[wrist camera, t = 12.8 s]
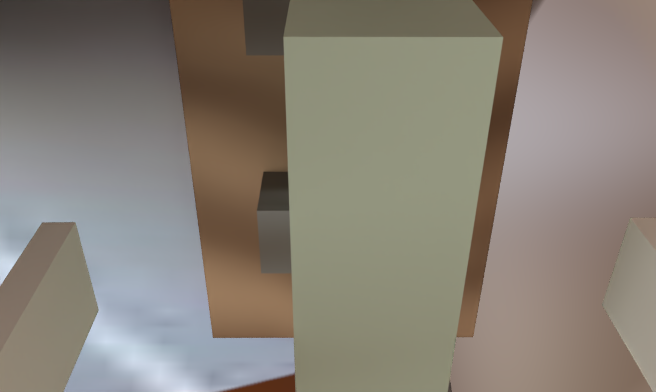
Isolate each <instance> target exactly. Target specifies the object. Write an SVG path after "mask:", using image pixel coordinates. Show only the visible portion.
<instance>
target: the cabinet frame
mask: <svg viewBox="0 0 656 392" xmlns="http://www.w3.org/2000/svg"><path fill="white" fill-rule="evenodd" d="M532 1H533V0H473V2H474V3H475V4H476V5H477V6H478V8H479V9H480V10H481V11H482V12H483V13H484V15H485V16H486V17H487V18H488V19H489V21H490V22H491V23H492V24H493V25H494V27H495V28H496V29H497V30H498V31H499V33H500V34H501V35H502V36H503V43H502V49H501V55H500V62H499V68H498V74H497V81H496V87H495V94H494V100H493V106H492V113H491V119H490V125H489V132H488V138H487V145H486V151H485V157H484V164H483V170H482V176H481V183H480V189H479V196H478V202H477V208H476V215H475V221H474V227H473V234H472V240H471V246H470V253H469V259H468V266H467V272H466V278H465V285H464V291H463V297H462V304H461V310H460V317H459V323H458V329H457V336H456V337H473V334H474V328H475V323H476V318H477V312H478V306H479V301H480V295H481V289H482V284H483V278H484V272H485V267H486V261H487V254H488V250H489V244H490V238H491V233H492V227H493V221H494V216H495V210H496V204H497V198H498V193H499V187H500V182H501V175H502V170H503V165H504V159H505V153H506V148H507V142H508V136H509V130H510V125H511V119H512V114H513V108H514V103H515V97H516V91H517V86H518V80H519V74H520V68H521V63H522V57H523V52H524V46H525V40H526V34H527V29H528V23H529V18H530V12H531V6H532ZM169 3H170V10H171V18H172V26H173V33H174V41H175V49H176V56H177V64H178V72H179V80H180V87H181V95H182V103H183V110H184V118H185V126H186V133H187V141H188V149H189V156H190V164H191V172H192V179H193V187H194V195H195V202H196V210H197V218H198V226H199V233H200V241H201V249H202V256H203V264H204V272H205V279H206V287H207V295H208V302H209V310H210V318H211V325H212V333H213V338H294V328H293V299H292V271H291V242H290V213H289V184H288V156H287V127H286V98H285V69H284V40H283V36H284V31H285V25H286V20H287V14H288V9H289V3H290V0H169Z"/></svg>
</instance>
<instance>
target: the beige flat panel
mask: <svg viewBox="0 0 656 392" xmlns="http://www.w3.org/2000/svg"><path fill="white" fill-rule="evenodd" d="M283 40H284V69H285V98H286V127H287V156H288V184H289V213H290V242H291V271H292V299H293V328H294V357H295V386H296V392H452V390H451V383H450V374H451V367H452V361H453V355H454V348H455V342H456V336H457V329H458V323H459V317H460V310H461V304H462V297H463V291H464V285H465V278H466V272H467V266H468V259H469V253H470V246H471V240H472V234H473V227H474V221H475V215H476V208H477V202H478V196H479V189H480V183H481V176H482V170H483V164H484V157H485V151H486V145H487V138H488V132H489V125H490V119H491V113H492V106H493V100H494V94H495V87H496V81H497V74H498V68H499V62H500V55H501V49H502V43H503V36H502V35H501V34H500V33H499V31H498V30H497V29H496V28H495V27H494V25H493V24H492V23H491V22H490V21H489V19H488V18H487V17H486V16H485V15H484V13H483V12H482V11H481V10H480V9H479V8H478V6H477V5H476V4H475V3H474V2H473V0H290V3H289V9H288V14H287V20H286V25H285V31H284V36H283Z"/></svg>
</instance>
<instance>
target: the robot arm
mask: <svg viewBox="0 0 656 392" xmlns="http://www.w3.org/2000/svg"><path fill="white" fill-rule="evenodd" d="M602 306H603V307H604V309H605V311H606V312H607V314H608V316H609V318H610V319H611V321H612V323H613V324H614V326H615V328H616V330H617V331H618V333H619V335H620V336H621V338H622V340H623V341H624V343H625V345H626V347H627V348H628V350H629V352H630V353H631V355H632V357H633V358H634V360H635V362H636V364H637V365H638V367H639V369H640V370H641V372H642V374H643V376H644V377H645V379H646V381H647V383H648V384H649V386H650V387H651V389H652V391H653V392H656V218H630V220H629V223H628V226H627V230H626V232H625V235H624V239H623V242H622V245H621V248H620V251H619V254H618V257H617V260H616V263H615V266H614V269H613V272H612V275H611V279H610V281H609V285H608V288H607V291H606V294H605V297H604V300H603V303H602ZM97 312H98V306H97V302H96V299H95V295H94V291H93V287H92V283H91V280H90V276H89V272H88V268H87V265H86V261H85V257H84V253H83V249H82V246H81V242H80V238H79V234H78V231H77V227H76V223H75V222H52V223H42V224H41V225H40V227H39V228H38V230H37V231H36V233H35V234H34V236H33V237H32V239H31V240H30V242H29V244H28V245H27V247H26V248H25V250H24V251H23V253H22V254H21V256H20V257H19V259H18V260H17V262H16V263H15V265H14V266H13V268H12V269H11V271H10V272H9V274H8V275H7V277H6V278H5V280H4V281H3V283H2V284H1V286H0V392H63V391H64V389H65V387H66V384H67V382H68V380H69V377H70V375H71V373H72V370H73V368H74V366H75V364H76V361H77V359H78V357H79V354H80V352H81V350H82V347H83V345H84V343H85V340H86V338H87V336H88V333H89V331H90V329H91V326H92V324H93V322H94V319H95V317H96V315H97Z"/></svg>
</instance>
